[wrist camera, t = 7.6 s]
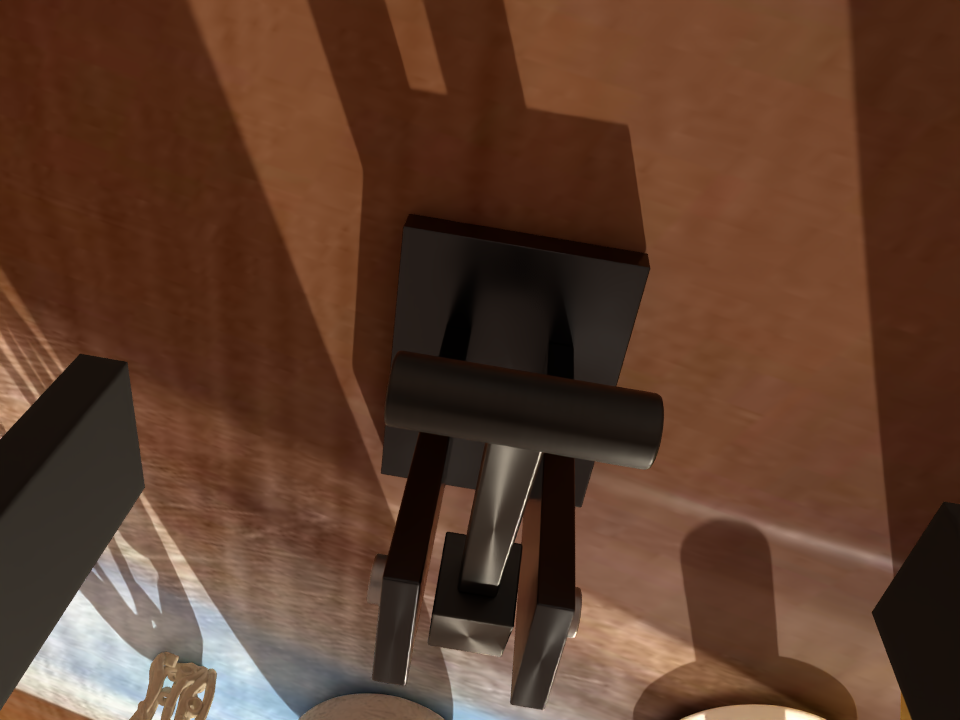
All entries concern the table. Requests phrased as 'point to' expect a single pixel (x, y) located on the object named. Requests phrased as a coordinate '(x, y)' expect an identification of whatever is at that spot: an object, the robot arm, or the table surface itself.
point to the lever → (508, 469)
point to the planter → (369, 709)
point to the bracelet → (177, 690)
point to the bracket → (453, 461)
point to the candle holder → (753, 713)
